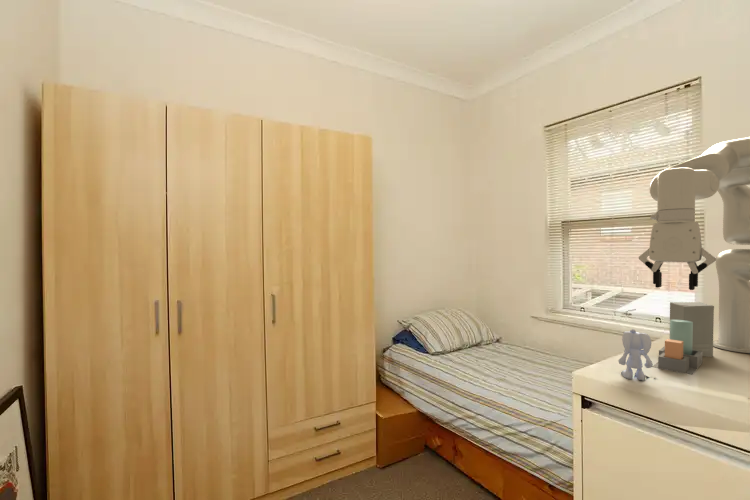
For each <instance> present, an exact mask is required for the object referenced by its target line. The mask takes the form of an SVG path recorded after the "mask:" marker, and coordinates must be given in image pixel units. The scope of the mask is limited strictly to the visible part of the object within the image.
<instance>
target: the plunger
mask: <svg viewBox="0 0 750 500" xmlns="http://www.w3.org/2000/svg"><path fill="white" fill-rule="evenodd" d="M664 346H665V357H669V358H674V359H680V360H682V359H683V341H678V340H671V339H670V338H666V339H665V340H664Z"/></svg>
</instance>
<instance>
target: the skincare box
mask: <svg viewBox="0 0 750 500" xmlns="http://www.w3.org/2000/svg"><path fill="white" fill-rule="evenodd" d="M714 313H715V305H713V304H712V305H711V304H708V303H704V302H700V301H688V302H687V301H685V302H683V301H681V302H680V301H679V302H673V301H672V302H670V301H669V321H670V320H685V321H691V322H693V343H692V350H697V351H703V355H702V357H710V358H711V357H714V346H713V341H714V327H715V326H714V322H715V321H714V315H715V314H714Z"/></svg>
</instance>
